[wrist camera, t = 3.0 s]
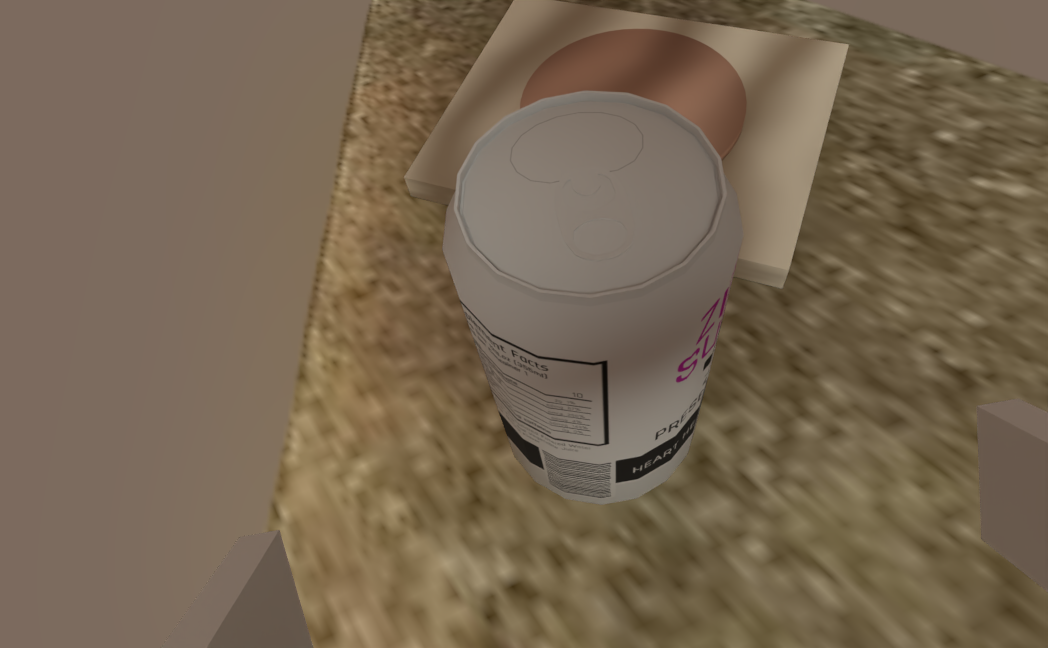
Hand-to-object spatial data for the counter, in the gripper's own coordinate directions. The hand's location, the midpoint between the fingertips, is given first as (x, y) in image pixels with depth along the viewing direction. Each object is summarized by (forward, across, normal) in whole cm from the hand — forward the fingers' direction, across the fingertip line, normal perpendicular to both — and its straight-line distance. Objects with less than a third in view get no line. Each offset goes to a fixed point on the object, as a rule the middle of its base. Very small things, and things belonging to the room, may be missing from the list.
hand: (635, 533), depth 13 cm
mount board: (+29, +6, +8) cm, 30 cm away
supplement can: (+17, +1, -4) cm, 18 cm away
